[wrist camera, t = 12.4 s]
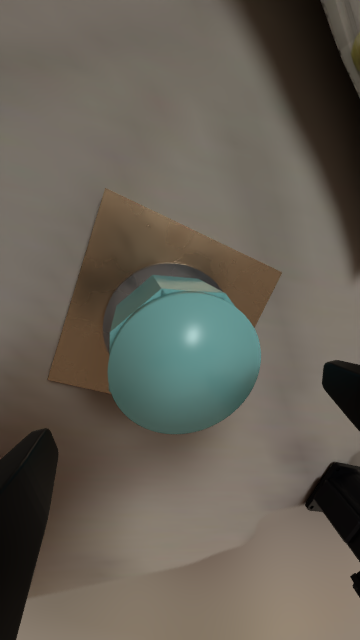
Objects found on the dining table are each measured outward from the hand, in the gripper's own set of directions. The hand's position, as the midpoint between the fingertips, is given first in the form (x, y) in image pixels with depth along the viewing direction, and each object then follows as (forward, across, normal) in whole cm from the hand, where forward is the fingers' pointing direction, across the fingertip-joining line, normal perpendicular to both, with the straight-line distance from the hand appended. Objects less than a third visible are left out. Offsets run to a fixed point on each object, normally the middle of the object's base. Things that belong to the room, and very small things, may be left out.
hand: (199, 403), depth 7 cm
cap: (+7, 0, 0) cm, 7 cm away
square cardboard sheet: (+9, 0, 0) cm, 9 cm away
